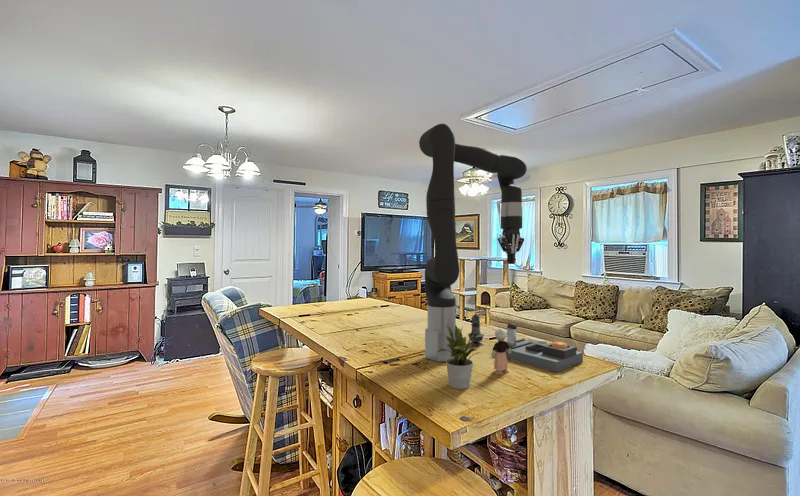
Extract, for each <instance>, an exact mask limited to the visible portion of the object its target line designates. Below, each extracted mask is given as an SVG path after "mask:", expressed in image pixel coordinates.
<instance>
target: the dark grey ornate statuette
mask: <svg viewBox="0 0 800 496" xmlns="http://www.w3.org/2000/svg"><path fill="white" fill-rule="evenodd" d="M480 320H481V318H480V316H479V315H478V314H477V312H475V313H474V314H473V315H472V316H471V324H470V325H471V332H470V333H468V334H467V336H468V339H469V340H470V338H471V337H472V335H473V334H474V333H475V334H474V336H473V338H472V339H471V341H470V342H469V344H472V345H471V347H482V346H483V345H484V344H483V343H482V341H483V339H484V336H485V334H484V333H481V328H480V327H481V323H480V322H481V321H480ZM475 331H476V332H475ZM481 334H482V335H481ZM479 335H480V336H479ZM476 337H477V338H476ZM475 338H476V339H475ZM474 339H475V340H474ZM473 340H474V341H473ZM473 343H474V344H473Z"/></svg>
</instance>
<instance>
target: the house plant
mask: <svg viewBox="0 0 800 496" xmlns="http://www.w3.org/2000/svg"><path fill="white" fill-rule="evenodd" d="M445 325H446V324H445ZM464 325H465V324H463V326H462V328H459V327H458V326H457V325H455V339H454V336H453V333H452V330H451V328H450V327H449V326H447V325H446V326H447V328H448V330H449V333H450V336H451V338H452V339H451V338H450V337H447V336H445V337H446V338H447V340H448V341H449V343H450V344H449V343H448V344H447V346H448V347H450V349H451V351H452V353H451V352H450V351H449V352H450V353H451V354H450V355H451V359H448V360H446V361H445V363H446V370H447V375H448V376H447V377H448V383H449V387H451V388H453V389H456V390H457V389H458V390H465V389H469V388H470V385H471V378H472V372H473V367H474V362H473V360H471V358H472V357H474V355H477V354H480V355H481V354H482V355H483V353H482V352H476V353H474V354H472V355H470V354H471V353H472V352H475V351H478V349H476V348H470V346H471V345H472V344H469V343H470V342H472V341H471V339H472V338H473V336H474V334H475V333H474V334H473V335H472V337H471V338H470V339H469V340H468V342H467V343H466V341H467V336H463V333H462V331H463V327H464ZM432 330H434V329H432ZM437 331H438V330H437ZM475 332H476V331H475ZM441 333H442V332H441ZM438 334H439V333H438ZM482 334H483V335H485V334H486V333H481V335H482ZM442 336H443V335H442ZM479 336H480V335H479ZM443 337H444V336H443ZM445 337H444V338H445ZM476 338H477V337H476ZM476 338H475V339H476ZM475 339H474V340H475ZM447 340H446V341H447ZM474 340H473V341H474ZM473 344H474V343H473ZM433 346H435V345H433ZM438 347H439V346H438ZM471 347H472V346H471ZM440 348H441V347H440ZM444 350H446V349H442V348H441V349H439V350H438V351H437V353H438V352H440V351H444ZM447 351H448V350H447ZM444 352H445V351H444ZM445 353H446V352H445ZM469 355H470V356H469ZM468 356H469V358H468ZM452 357H454V358H452Z"/></svg>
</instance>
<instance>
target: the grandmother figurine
mask: <svg viewBox="0 0 800 496" xmlns="http://www.w3.org/2000/svg"><path fill="white" fill-rule="evenodd" d="M494 335H495V339H496V340H497V341H498V342H495V343H494V345H493V348H492V351H491V354H490V355H491V356H492V357H495V358H494V365H493V366H494V367H493V369H494V371H493V372H494V374H496V375H500V376H502V375H504V374H508V373H509V370H508V369H509V368H508V359H507V357H506V349H507V351H508V353H509V354H511V351H510V347H509V345H508V344H507V340H506V338H507V331H506V330H505V329H503V328H497V329H496V330H495V332H494ZM495 353H496V355H495Z"/></svg>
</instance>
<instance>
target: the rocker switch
mask: <svg viewBox="0 0 800 496" xmlns="http://www.w3.org/2000/svg"><path fill="white" fill-rule="evenodd" d="M527 340H528V342H532V343H537V344H545V345H547V343H548V342H547V341H546V340H541V339H536V338H528V339H527Z"/></svg>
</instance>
